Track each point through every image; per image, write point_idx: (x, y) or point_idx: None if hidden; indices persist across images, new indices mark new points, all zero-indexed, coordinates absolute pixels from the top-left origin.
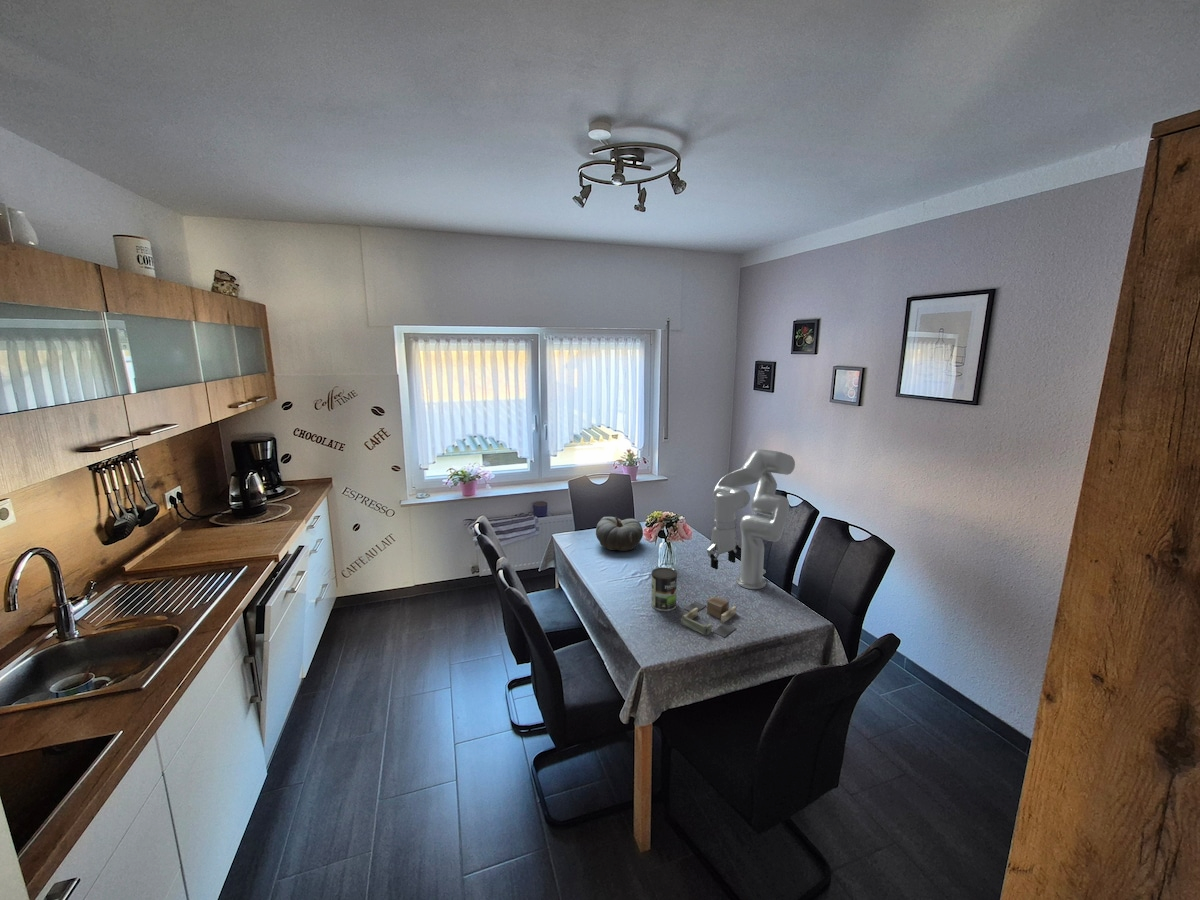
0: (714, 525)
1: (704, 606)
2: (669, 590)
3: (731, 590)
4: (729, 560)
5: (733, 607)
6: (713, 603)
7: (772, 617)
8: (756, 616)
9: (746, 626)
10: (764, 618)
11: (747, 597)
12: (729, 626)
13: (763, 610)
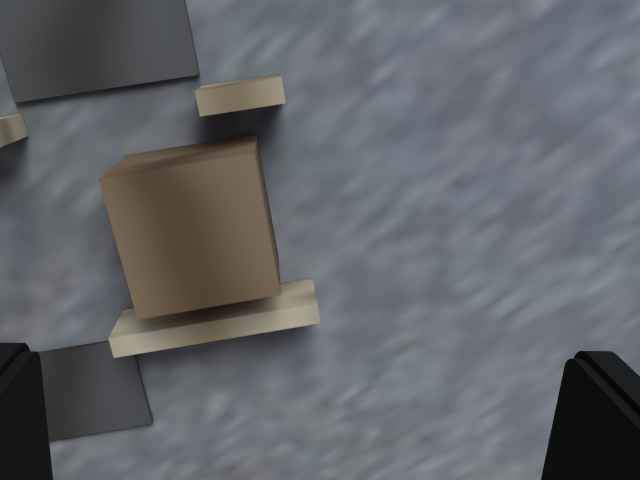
0: None
1: (174, 76)
2: None
3: (614, 19)
4: (564, 397)
5: (288, 319)
6: (127, 237)
7: (470, 455)
8: (400, 396)
9: (238, 436)
10: (419, 437)
11: (598, 189)
12: (126, 388)
13: (507, 374)
